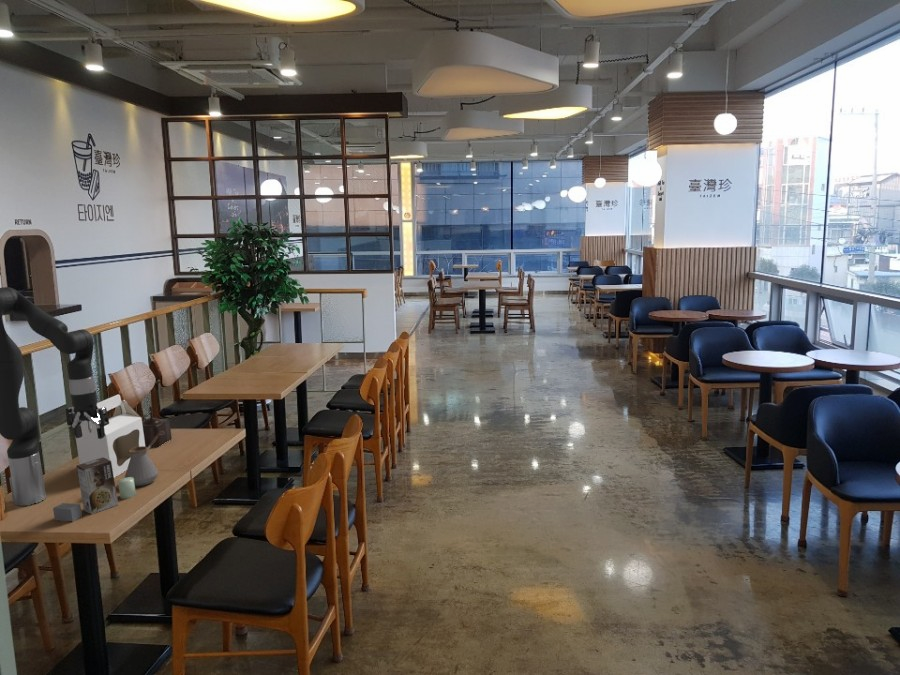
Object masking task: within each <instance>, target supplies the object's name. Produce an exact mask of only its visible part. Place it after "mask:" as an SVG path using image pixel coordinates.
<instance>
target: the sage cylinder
mask: <svg viewBox="0 0 900 675" xmlns="http://www.w3.org/2000/svg"><path fill="white" fill-rule="evenodd" d="M117 484H118V491H119V497H120V499H121V500H127V499H131V497H132V498H134V497H136V496H137V494H136V492H137V491H136V486H135V484H134V478H133V477H126V478H125V477H123V478H120V479H119V480H118V481H117ZM133 496H134V497H133Z"/></svg>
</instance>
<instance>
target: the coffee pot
mask: <svg viewBox="0 0 900 675" xmlns="http://www.w3.org/2000/svg"><path fill="white" fill-rule="evenodd" d="M161 432H163V431H160V432H159V433H158V434H157V436H156V437H155V438H154V439H153V440H152V442H151V443H150V445H149V446H148V447H145V446H141V447H135V448H132V449H130V450H129V453H130V454H131V458H130V461H129V465H128V468H127V471H125V475H124V478H126V477H133V478H134V484H135V487H143V486H146V485H150V484H152V483H153V482H154V481H155V479H156V478H157V477H158V475H159V470H158V469H157V467H156V466H155V464H154V463H153V460H151V458H150V457H149V455H148V454H147V453H148V451H149V450H150V448H152V447H151V446H152V445H153V444H154V443H155V441H156V440H157V438H158V436H160V434H161ZM164 434H165V433H164ZM164 434H161V435H164Z"/></svg>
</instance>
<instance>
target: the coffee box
mask: <svg viewBox="0 0 900 675" xmlns="http://www.w3.org/2000/svg"><path fill="white" fill-rule="evenodd" d="M76 470H77V475H78V482H79V489H80V494H81V501H82V507H83V510H84V511H85V512H87V513H88V514H90V513H91V514H90V515H94V514H97V513H99V511H100V512H102V511H105V510H107V509H110V508H113V507H116V506H119V502H118V494H117V488H116V483H115V478H114V476H113V470H112V463H111V461H110V460H108V459H106V458H103V457H102V458H99V459H96V460H93V461H90V462H86V463H83V464H80V463H79V464H77V465H76ZM96 512H97V513H96Z"/></svg>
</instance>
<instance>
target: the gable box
mask: <svg viewBox="0 0 900 675" xmlns="http://www.w3.org/2000/svg"><path fill="white" fill-rule="evenodd" d="M97 407H98V408H103V407H106V409H107V412H109V411H110V410H112V409H114V408H115V409H114V411H113V412H114V413H113V414H112V417H110V418H109V417H108V419H109V424H108V425H106V426H104V430H105V436H104V438H102V439H98V435H97V427H96V426H95V424H93V423H91V421H82V422H81V424H80V426H81V429H82V437H80V438H76V436H75V435H74V436H75V441H76V442H75V443H76V449H77V450H76V451H77V455H78V456H77V457H78V460H79V461H78V462H79V465H80V464H83V463H86V462H90V461H93V460H96V459H99V458H102V457H103V458H106V459H108V460H110V461H111V463H112V470H113V476H114V479H115V478H116V476H117V477H118V476H120V475H121V473H122V474H123V473H125V472H126V470H127V468H128V465H129V461H130V458H131V454H130V453H129V450H130V449H132V448H135V447H141V446H145V440H144V433H143V426H142V421H143V419H142V418H141V417H142V416H140V414H138V413H137V411H135V409H134V408H133V407H132V406H131V405H130V404H129V403H128V402H127V401H126V400H125V399H122V397H121V395H120V394H115V395H112V396H110V397H108V398H106V399H103V400H101V401H98V402H97ZM133 409H134V410H133ZM95 419H97V418H96V417H95ZM98 423H99V422H98ZM124 471H125V472H124Z"/></svg>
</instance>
